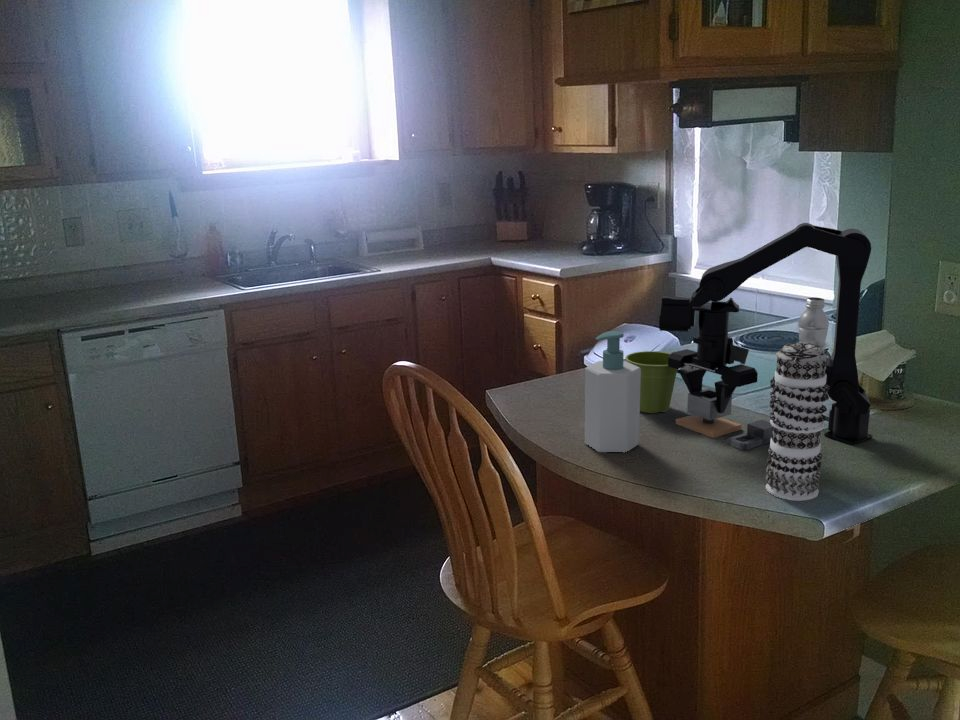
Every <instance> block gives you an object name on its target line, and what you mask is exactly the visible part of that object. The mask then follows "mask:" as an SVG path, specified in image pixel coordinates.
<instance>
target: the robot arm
mask: <svg viewBox="0 0 960 720" xmlns="http://www.w3.org/2000/svg"><path fill="white" fill-rule="evenodd" d="M805 248H810V249H813V250H817V251H820V252H822V253H827V254H829V255H833V256H835V259H836V260H835V261H836V267H837V268H836V269H837V274H838V284H837V285H838V287H837V298H836V299H837V301H836V314H835V325H834V328H835V329H834V338H833V339H834V341H833V349H832V353H831V356H830V358H828V359H827V360H826V370H825V372H826V375H827V377H826V384H827V385H828V386H829V387H830V390H828V391H827V392H826V394H827V395H828V397H829V399H831V400H832V401H834V402H835V403H831V408H830V410H829V413H828V414H829V415H828V423H827V424H828V425H827V431H825V432H824V433H823V435H824V436H825V437H828V438H832V439H834V440H837V441H840V442H843V443H846V444H849V445H856V444H858V443H861V442H864V441H867V440H871V439H873V435H872V434H871V433H869V426H870V425H869V424H870V417H871V415H870V414H871V408H870V407H871V402H870V400H869V396H868V395H867V391H866V390H865V389H864V388H863V386H861V385H860V383H859V382H860V381H859V374H858V366H857V360H856V348H857V337H858V336H857V335H858V322H859V309H860V299H861V286H862V281H863V278H864V275H865V272H866V270H867V267H868V264H869V261H870V260H869V259H870V256H871V253H872V243H871V241H870V239H869V238H868V237H867V235H866V233H864V232H863V231H862V230H860V229H858V228H846V229H844V230H840V229H835V228H831V227H823V226H817V225H814V224H811V223H810V222H802V223H800V224H798V225H797V226H796V227H794V228H793V229H791V230H790V231H788V232H786V233H784V234H782V235H781V236H779V237H777V238H775V239H774V240H771V241H770V242H768V243H766V244H764V245H761V247H759V248H757V249H755V250H753V251H752V252H750V253H748V254H746V255H744V256H742V257H740V258H737V259H734V260H730V261H727V262H723V263H720V264H717V265H714V266H712V267H710V268H708V269H706V270H705V271H704V273H703V274H702V275H701V278H700V281H699V286H698V287H697V289H696V290H695V291H693V292H692V294H691V296H690V297H675V296H670V295H664V296H662V298H661V307H660V312H659V313H660V314H659V315H658V316H659V317H658V318H659V320H658V325H659V327H658V329H659V331H662V332H663V331H664V332H680V333H681V332H683V333H688V332H689V331H690V330H691V328H695V326H696V313H697V311H698V323H697V324H698V326H697V336H696V337H693V338H692V343H693V344H697V347H696V348H697V349H696V350H697V351H695V350H692V349H688V348H686V349H682V350H678V351H673V352H671V354H670V356H669V357H668V366H669V367H672V368H675V369H678V370H677V374H679V375H680V377H681V378H682V381H683V382H684V384H685V385H686V386H685V387H687V390H688V392H689V393H692V392H696V391H700V390H703V381H704V380H703V378H704V376H705V375H706V372H710V373H713V374H716V375H720V376H721V380H718V381H715V382H714V388H715V389H714V390H715V391H716V398H717V406H718V411H719V413H723V412H724V411H725V409H726V407H727V404H728V402H729V400H730V398H731V395H732V396H733V394H734V392H735V390H736V389H737V388H739V387H743V386H748V385H752V384H755V383H757V382H758V370H756V367H752V366H749V365H746V361H747V357H748V355H749V351H750V349H749V348H745V347H742V346H738V345H735V344H734V340H733V337H730V336H729V323H730V313H739V311H740V305H739V304H737V303H736V302H735V301H734V298H732V297H730V298H729V299H728V300H726V301H722V300H724V299H725V298H727V297H728V296H729V295H731V294H732V293H733V292H734V291H736V290H737V289H738V288H740V286H741V285H743V283H745V282H746V281H747V280H749V278H751V277H753V276H755V275H757V274H758V273H760V272H763V271H765V270H767V268H770V267H772V266H773V265H775V264H776V263H777V264H778V263H779V262H780V261H784V259H786V258H788V257H790V256H792V255H794V254H795V253H798V252H799V251H801V250H804V249H805ZM707 303H711V304H707ZM735 362H738V363H740V364H736V365H732V366H727V365H731V364H734V363H735Z"/></svg>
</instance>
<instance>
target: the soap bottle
mask: <svg viewBox="0 0 960 720" xmlns="http://www.w3.org/2000/svg"><path fill="white" fill-rule="evenodd" d="M623 337H624V333H623V332H621V331H617V330H612V331H611V330H609V331H605V332H603V333H601V334H599V335H597V336H596V337H595V340H596V341H597V342H600V341H604V340H607V344H606V345H607V346H606V347H607V348H606V349H603V351H602V360H598V361H596V362H594V363H592V364H590V365H588V366H586V367H585V368H584V369H585V371H584V372H585V375H584V376H585V377H584V385H585V386H584V444H585V445H587V446H588V445H589V446H588V447H590V448H591V447H592V448H591V449H592V450H593V449H595V451H596V452H597V453H607V452H623V453H622V454H626V453H627V451H628V452H629V451H631V450H632V449H634V448H635V447H636V446H638V445H639V444H640V417H641V416H640V414H641V411H640V383H641V369H640V367H637V366H635V365H633V364H631V363H628V361H626V360H624V355H625V354H624V350H621V349H620V342H621V340H620V339H621V338H623ZM625 452H626V453H625Z"/></svg>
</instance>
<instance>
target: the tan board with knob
mask: <svg viewBox="0 0 960 720" xmlns="http://www.w3.org/2000/svg"><path fill="white" fill-rule="evenodd" d="M677 424H678V425H677ZM675 425H677V426H680V425H681V427H682V426H684V427H683V428H685V427H687V428H686V429H688V428H689V429H688V430H690V429H692V430H691V431H693V430H695V431H694V432H696V431H698V432H700V433H699V434H701V433H702V434H701V435H704V434H705V435H704V436H706V435H707V437H709V436H710V437H709V438H712V437H713V438H712V439H714V437H715V438H718V437H721V436H724V435H728V434H730V433H734V432H738V431H741V430H742V424H741V423H738V422H735V421H731V420H728V419H726V418H725V417H724V418H723V417H720V418H717V419H713V420H710V421H709V420H707V419H704V418H701V417H698V416H695V415H693V414H690V415H687V416H684V417H679V418H675ZM698 432H697V433H698ZM717 436H718V437H717Z"/></svg>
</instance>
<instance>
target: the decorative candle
mask: <svg viewBox="0 0 960 720" xmlns="http://www.w3.org/2000/svg"><path fill="white" fill-rule="evenodd" d="M775 356H776V358H777V359H776V370H775V371H774V376H773V377H772V379H770V381H769V383H770V384H769V387H770V388H771V389H772V390H771V391H770V393H769V394H770V395H769V396H770V401H769V408H771V411H770V412H769V416H770V417H769V418H770V420H769V422H770V423H771V425H772V426H773V428H772V438H771V439H770V442H769V443H770V444H769V447H768V449H767V454H768V455H769V456H768V457H767V461H766V462H767V463H768V465H767V467H766V470H765V471H766V477H765V482H766V485H765V490H766V489H767V490H766V492H767V491H768V492H769V493H768V492H767V493H768V494H770V493H771V494H772V496H773V495H774V497H776V498H778V497H779V499H781V498H782V499H781V500H786V499H787V501H793V502H794V501H795V502H796V501H799V502H803V501H810V500H813V499H815V498H817V497H818V496H819V493H820V491H819V489H818V488H819V487H820V485H819V484H820V478H821V472H820V471H819V469H821V467H822V462H821V461H820V460H822V459H823V458H822V455H823V454H822V452H821V448H822V447H821V445H822V443H821V440H820V439H821V432H822V430H823V429H824V428H825V423H824V421H826V419H827V417H826V415H825V414H824V413H826V412H827V410H828V408H827V407H826V405H824V404H823V402H826V401H829V399H830V397H829V396H828V393H827V391H828V390H830V387H829V386H828V385H827V384H826V377H827V375H826V372H825V370H826V360H827V359H830V358H829V357H830V356H829V355H828V354H826V353H825V351H824V352H823V350H822V349H821V348H820V347H819V346H817V345H815V344H811V343H803V342H799V341H798V342H788V343H786V344H784V345H783V347H782V348H781V349H780V350H778V351H776V352H775ZM771 494H770V495H771Z"/></svg>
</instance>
